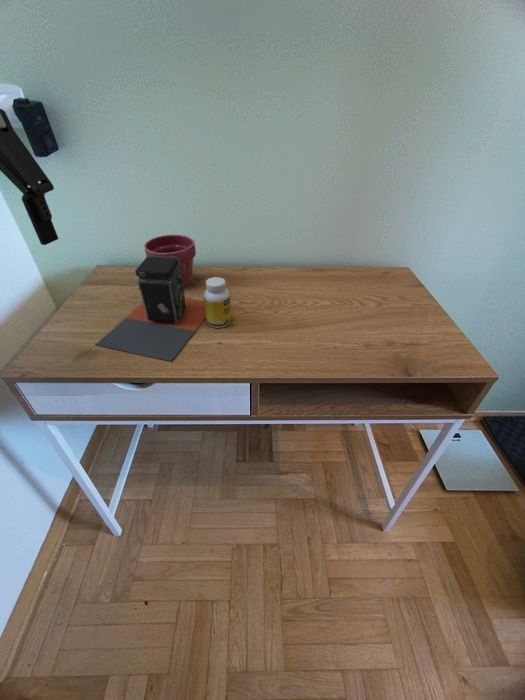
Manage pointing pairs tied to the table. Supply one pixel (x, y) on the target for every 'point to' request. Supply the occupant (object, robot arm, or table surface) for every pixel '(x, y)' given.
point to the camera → (161, 288)
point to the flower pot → (174, 252)
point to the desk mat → (155, 333)
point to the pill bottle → (217, 303)
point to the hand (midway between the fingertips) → (15, 237)
